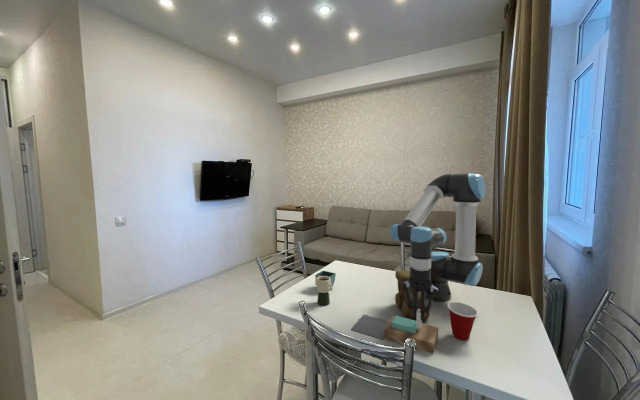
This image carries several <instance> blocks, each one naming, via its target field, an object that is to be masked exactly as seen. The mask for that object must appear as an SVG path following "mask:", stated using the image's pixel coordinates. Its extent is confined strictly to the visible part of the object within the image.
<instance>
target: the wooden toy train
mask: <svg viewBox="0 0 640 400" xmlns="http://www.w3.org/2000/svg"><path fill="white" fill-rule="evenodd" d="M394 275H395V276H394V277H395V279H396V280H397V290H398V292H396V294H395V296H394V297H395V299H394V301H395V305H396V307H397V309H401V315H402V317H403V318H407V319H411V320H416V319H415V318H414V310H413V309H412V308H409V305H408V301H407V296H406V292H405V289H404V287H403V285H402V284H403V283H404V282H405V281H406V282H407V281H408V280H409V278H410V270H397V271H395V274H394ZM409 287H410V292H411V296H412V301H413V304H414V290H413V288H412V287H411V285H410V286H409ZM427 304H428V303H426V302H425V307H427ZM418 309H421V292H418ZM430 312H431V311H430V310H429V312H425V318H424V320H428V319H429V318H430V315H431V313H430Z"/></svg>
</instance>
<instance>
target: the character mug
mask: <svg viewBox="0 0 640 400" xmlns="http://www.w3.org/2000/svg"><path fill="white" fill-rule="evenodd" d="M314 282H315V287H316V288H315V289H316V291H317V292H318V294H317V301H316V302H317V304H318V305H321V306H325V305H328V304H330V292H331V291H333V287H332V284H331V279H330V277H328V276H319V277H317V279H316V278H315V279H314Z"/></svg>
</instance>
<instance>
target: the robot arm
mask: <svg viewBox="0 0 640 400" xmlns="http://www.w3.org/2000/svg"><path fill="white" fill-rule="evenodd" d="M486 193H487V187H486V182H485V179H484V177H483V175H481V174H479V173H472V172H471V173H447V174H446V173H445V174H442V175H441V176H438V177H436V178H434V179H433V180H431V182H429V183H428V184H427V185H426V186H425V188H424V190H423V194H422V195H421V197H420V198H419V199H418V201H417V202H416V203H415V204H414V206H413V207H412V209H411V210H410V211H409V213H407V215H406V216H405V217H404V219H403V220H402V222H401V223H394V224H393V225H391V227H390V229H389V236H390V238H391V239H392V240H393V241H396V242H398V243H405V244H410V255H409V257H410V258H409V259H410V260H409V266H410V267H409V271H410V278H409V280H408V281H407V282H406V281H405V282H404V283H403V284H402V285H403V287H404V289H405V292H406V296H407V301H408V305H409V308H412V309H413V310H414V318H415V319H414V320H415V321H416V328H418V329H420V328H421V326H422V323H423V322H422V321H424V320H425V319H424V318H425V312H429V311H430V310H431V307H432V304H433V301H435V302H447V300H448V301H450V300H451V299H452V292H451V289H450V286H449V285H450V284H449V281H450V282H455V283H459V284H462V285H464V286H469V287H475V286H476V285H477V284H478V283H479V281H480V280H481V278H482V274H483V268H484V266H483V263H481V262H479V257H478V256H476V236H477V235H476V234H477V233H476V230H477V229H476V228H477V210H478V209H477V207H478V205H479V204H480V203H481V201H482V199H484V198H485V197H486ZM444 198H452V201H453V203H454V204H455V205H456V210H455V236H454V237H455V241H454V242H455V246H454V247H455V248H454V253H452V254H451V256H450V253H449V252H447V251H432V250H434V249H436V248H440V247H442V245H444V244H445V243H446V242H447V239H448V238H447V233H446V231H444V230H443V228H440V227H432V228H430V226H422V225H423V224H424V222H425V220H426V219H427V218H428V216H430V213H432V211H433V209H434V208H435V206H436V205H437V204H438V202H441V201H442V200H443V199H444ZM410 285H411V287H412V288H413V290H414V304H413V301H412V296H411V292H410V287H409V286H410ZM418 292H419V293H420V294H421V309H418ZM426 299H427V300H428V302H427V303H426ZM449 299H450V300H449ZM425 303H426V304H427V307H425Z"/></svg>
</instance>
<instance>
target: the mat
mask: <svg viewBox="0 0 640 400" xmlns="http://www.w3.org/2000/svg"><path fill="white" fill-rule="evenodd" d="M389 321H390V320H385V319H381V318H378V317H375V316H370V315H367V314H363V315H361V317H360V318H359V319H358V320H357V322H355V323H354V325H353V326H352V327H351V328H350V331H354V332H357V333H360V334H363V335H366V336H369V337H373V338H376V339H379V340H382V341H384V340H385V339H384V329H385V328H386V326H387V324H388V323H389Z"/></svg>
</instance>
